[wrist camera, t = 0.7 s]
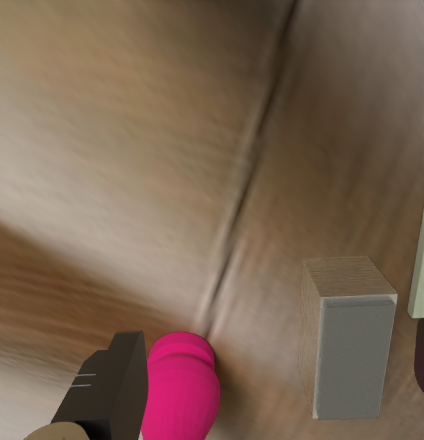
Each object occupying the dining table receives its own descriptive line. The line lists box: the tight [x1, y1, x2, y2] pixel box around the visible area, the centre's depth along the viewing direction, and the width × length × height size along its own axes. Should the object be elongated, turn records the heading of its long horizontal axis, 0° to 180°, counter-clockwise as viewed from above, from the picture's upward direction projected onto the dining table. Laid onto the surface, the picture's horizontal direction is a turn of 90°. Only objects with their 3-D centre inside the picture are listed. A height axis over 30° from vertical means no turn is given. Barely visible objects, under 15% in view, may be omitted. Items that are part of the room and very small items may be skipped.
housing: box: [298, 256, 398, 420], centre depth 32 cm, size 12×6×7 cm, turn 3°
